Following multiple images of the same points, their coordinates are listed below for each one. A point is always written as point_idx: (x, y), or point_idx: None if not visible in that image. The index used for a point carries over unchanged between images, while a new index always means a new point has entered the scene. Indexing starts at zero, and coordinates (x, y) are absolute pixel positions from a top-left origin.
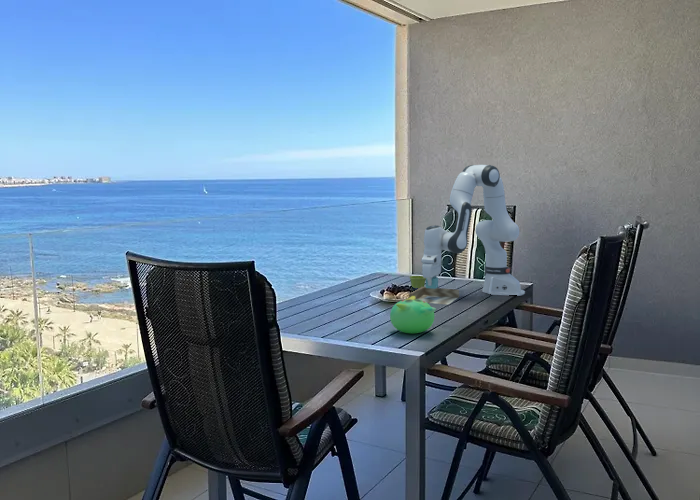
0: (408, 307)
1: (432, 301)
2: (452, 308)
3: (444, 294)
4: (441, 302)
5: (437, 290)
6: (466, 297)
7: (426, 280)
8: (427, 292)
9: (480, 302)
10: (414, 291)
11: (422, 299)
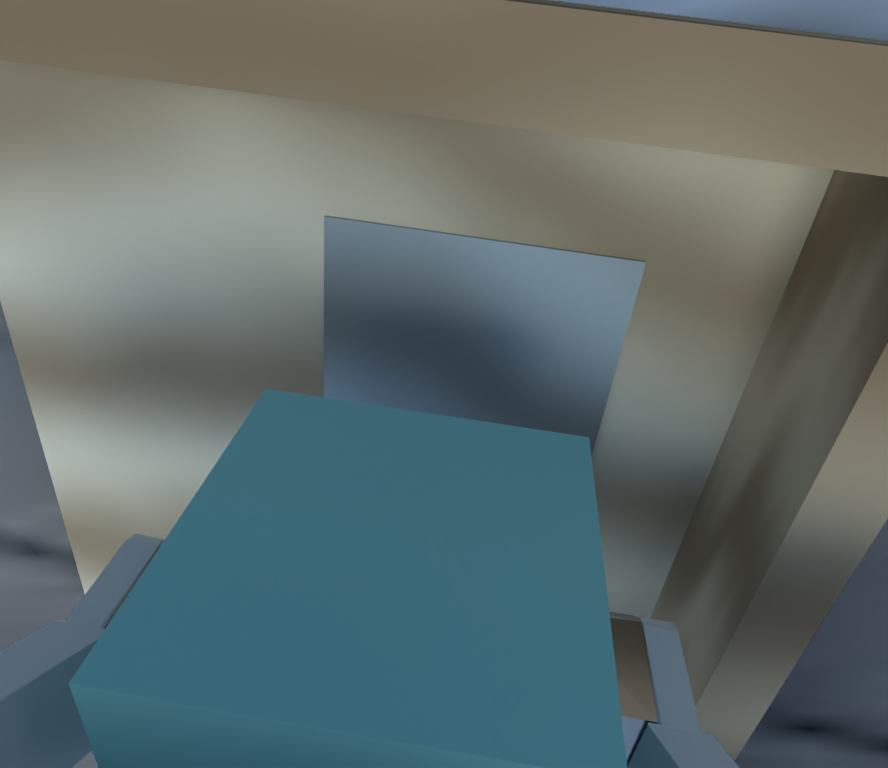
0: None
1: (164, 415)
2: (39, 625)
3: (684, 585)
4: (163, 537)
5: (752, 530)
6: (804, 755)
7: (141, 608)
8: (838, 258)
9: None
10: (42, 4)
11: (245, 210)
